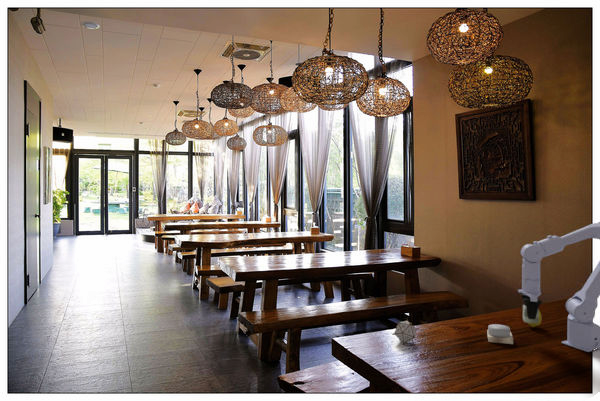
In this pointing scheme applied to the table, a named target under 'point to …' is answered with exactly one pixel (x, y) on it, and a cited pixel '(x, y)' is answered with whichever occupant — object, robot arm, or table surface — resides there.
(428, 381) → the table surface
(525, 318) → the sage cube
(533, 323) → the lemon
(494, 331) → the grey puck
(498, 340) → the birch slab
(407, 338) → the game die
